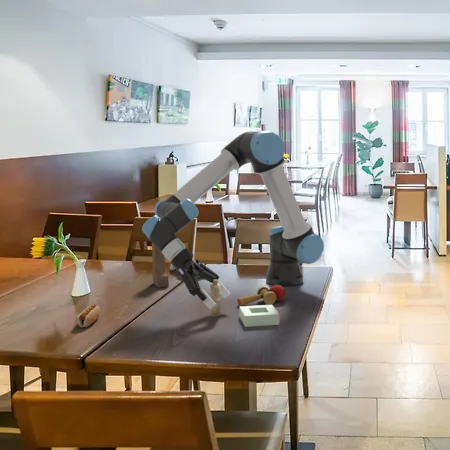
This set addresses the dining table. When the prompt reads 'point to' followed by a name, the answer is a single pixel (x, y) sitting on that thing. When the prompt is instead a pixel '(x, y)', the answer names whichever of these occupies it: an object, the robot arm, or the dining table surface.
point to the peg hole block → (258, 315)
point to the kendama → (264, 295)
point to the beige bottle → (215, 298)
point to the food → (88, 316)
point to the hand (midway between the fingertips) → (220, 301)
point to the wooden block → (159, 268)
